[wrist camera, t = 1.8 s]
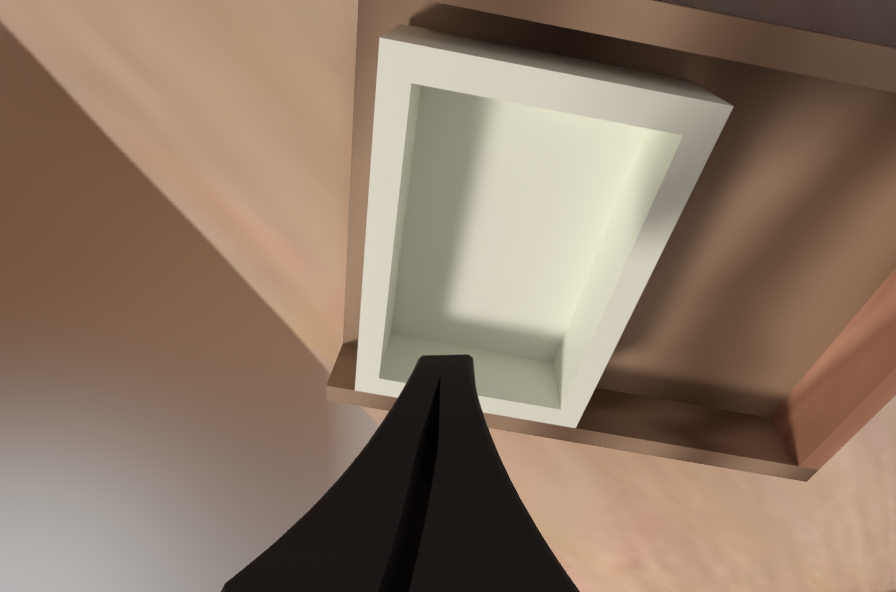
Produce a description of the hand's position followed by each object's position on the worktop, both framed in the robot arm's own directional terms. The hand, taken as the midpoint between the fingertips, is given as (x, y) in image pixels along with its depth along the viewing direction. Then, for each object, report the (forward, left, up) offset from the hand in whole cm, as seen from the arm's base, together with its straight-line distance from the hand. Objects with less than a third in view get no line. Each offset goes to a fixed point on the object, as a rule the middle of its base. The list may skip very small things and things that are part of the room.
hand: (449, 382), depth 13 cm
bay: (-7, 0, -10) cm, 13 cm away
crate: (-2, 0, -9) cm, 9 cm away
